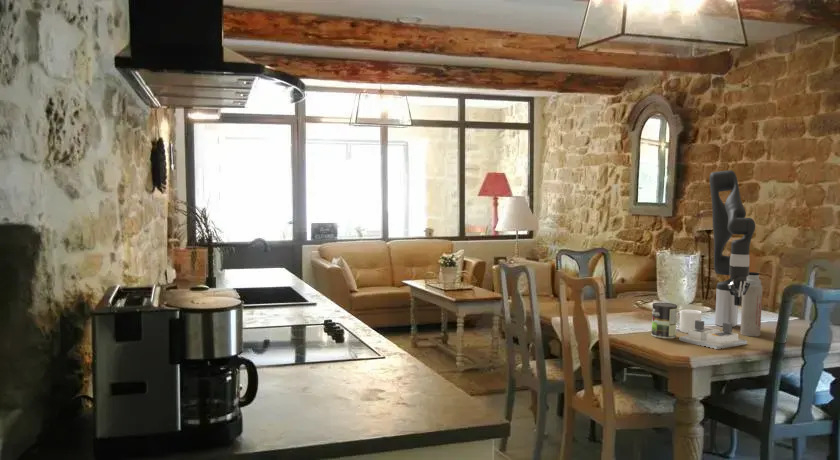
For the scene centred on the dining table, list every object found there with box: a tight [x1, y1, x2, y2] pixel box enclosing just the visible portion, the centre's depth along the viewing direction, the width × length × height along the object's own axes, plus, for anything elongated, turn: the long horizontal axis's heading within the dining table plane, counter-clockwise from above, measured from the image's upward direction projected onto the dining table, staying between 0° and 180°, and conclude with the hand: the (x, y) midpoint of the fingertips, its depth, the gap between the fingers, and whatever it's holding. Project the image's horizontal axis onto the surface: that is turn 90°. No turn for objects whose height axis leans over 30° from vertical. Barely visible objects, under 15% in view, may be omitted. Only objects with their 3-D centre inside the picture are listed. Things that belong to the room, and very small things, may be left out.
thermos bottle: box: [740, 271, 763, 337], centre depth 299 cm, size 8×8×28 cm
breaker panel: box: [678, 326, 748, 350], centre depth 283 cm, size 20×18×5 cm
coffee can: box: [650, 301, 678, 340], centre depth 294 cm, size 10×10×14 cm
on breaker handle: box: [695, 320, 705, 330], centre depth 285 cm, size 2×3×4 cm, turn 30°
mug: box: [676, 309, 702, 334], centre depth 305 cm, size 12×9×9 cm
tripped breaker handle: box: [722, 323, 733, 333], centre depth 281 cm, size 2×3×4 cm, turn 30°
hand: (737, 305), depth 283 cm, fingers closed
